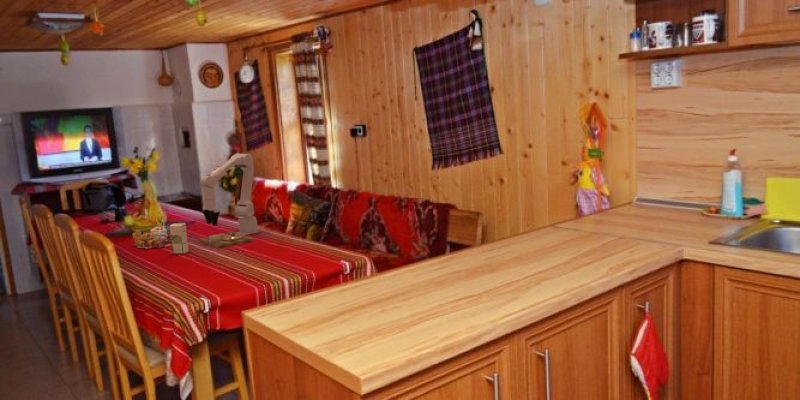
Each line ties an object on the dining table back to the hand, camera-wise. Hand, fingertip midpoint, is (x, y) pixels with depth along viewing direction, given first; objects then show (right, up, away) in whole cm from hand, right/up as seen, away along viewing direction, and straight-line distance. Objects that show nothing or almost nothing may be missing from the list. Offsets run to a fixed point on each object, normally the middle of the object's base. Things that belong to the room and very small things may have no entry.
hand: (212, 224), depth 326 cm
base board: (+8, -9, +1) cm, 12 cm away
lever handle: (+8, -8, -2) cm, 11 cm away
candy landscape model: (-29, -11, +4) cm, 31 cm away
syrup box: (-10, -13, -18) cm, 25 cm away
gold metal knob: (+11, -9, -6) cm, 15 cm away
